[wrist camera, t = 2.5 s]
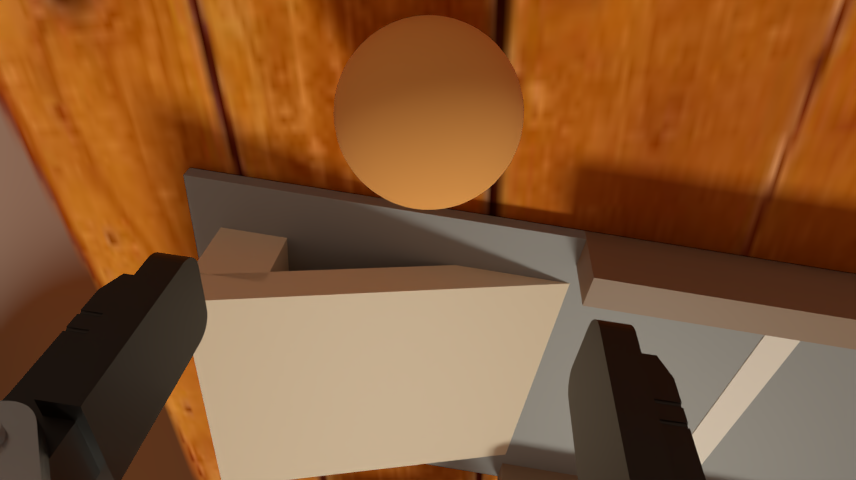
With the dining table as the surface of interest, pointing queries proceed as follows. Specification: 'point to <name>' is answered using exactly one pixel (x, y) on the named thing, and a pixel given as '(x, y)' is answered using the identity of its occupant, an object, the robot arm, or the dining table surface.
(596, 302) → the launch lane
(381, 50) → the rubber ball
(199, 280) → the robot arm
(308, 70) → the dining table surface
